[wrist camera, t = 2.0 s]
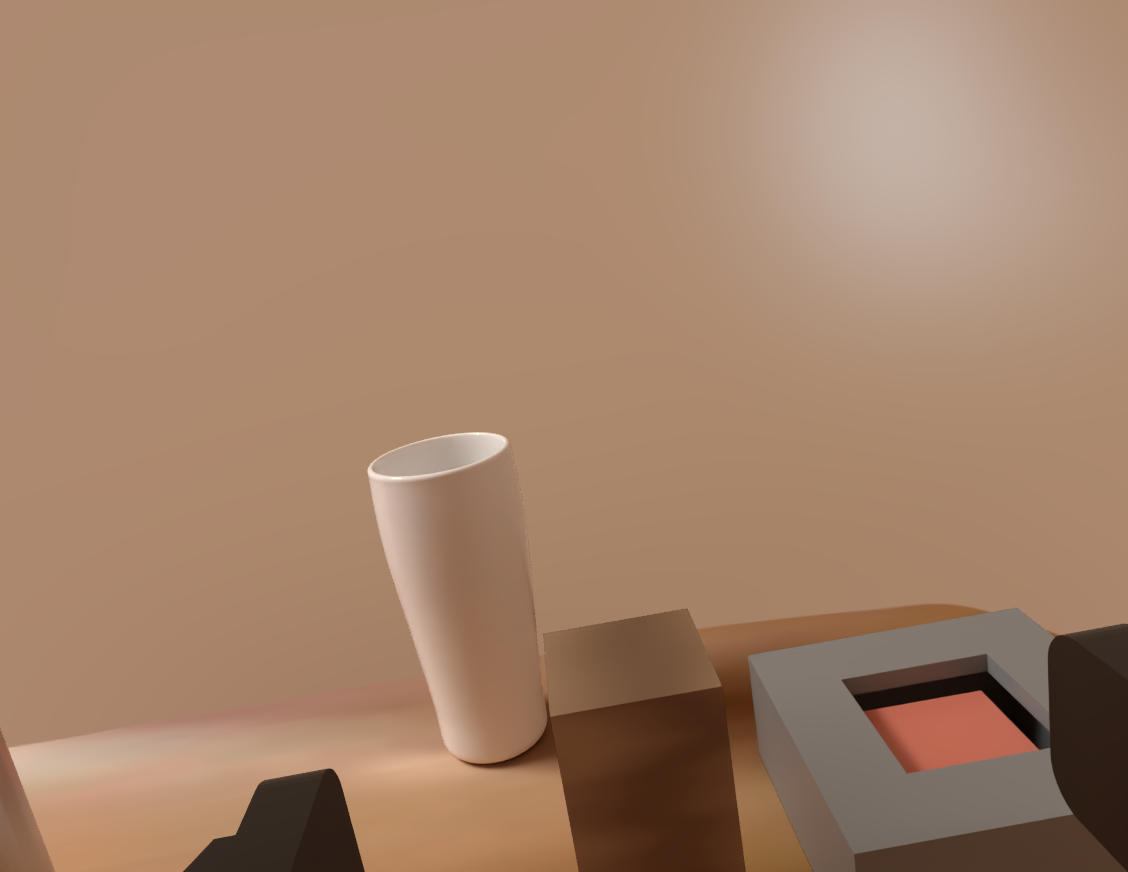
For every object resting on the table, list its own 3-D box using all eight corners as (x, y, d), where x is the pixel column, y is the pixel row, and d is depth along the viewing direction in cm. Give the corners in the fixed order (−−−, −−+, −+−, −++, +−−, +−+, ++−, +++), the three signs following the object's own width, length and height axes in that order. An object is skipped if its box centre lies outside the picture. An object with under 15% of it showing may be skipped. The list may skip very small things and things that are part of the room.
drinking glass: (568, 691, 46) (520, 423, 43) (558, 773, 40) (500, 466, 36) (445, 703, 47) (387, 442, 43) (416, 786, 41) (344, 486, 37)
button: (921, 832, 30) (918, 789, 30) (866, 750, 35) (863, 711, 35) (1054, 808, 31) (1053, 764, 30) (982, 729, 35) (980, 690, 35)
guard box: (865, 984, 27) (854, 854, 26) (759, 753, 39) (747, 655, 38) (1233, 916, 28) (1240, 783, 26) (1019, 707, 39) (1017, 607, 38)
